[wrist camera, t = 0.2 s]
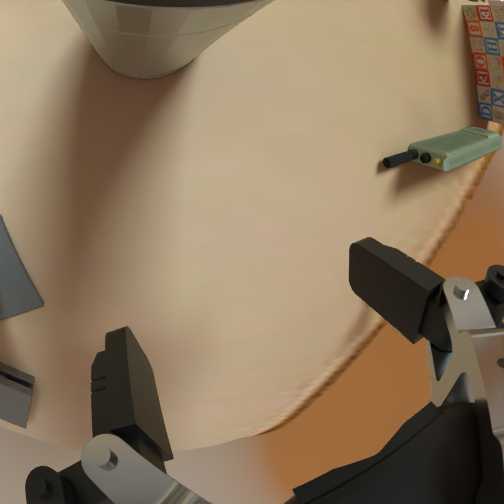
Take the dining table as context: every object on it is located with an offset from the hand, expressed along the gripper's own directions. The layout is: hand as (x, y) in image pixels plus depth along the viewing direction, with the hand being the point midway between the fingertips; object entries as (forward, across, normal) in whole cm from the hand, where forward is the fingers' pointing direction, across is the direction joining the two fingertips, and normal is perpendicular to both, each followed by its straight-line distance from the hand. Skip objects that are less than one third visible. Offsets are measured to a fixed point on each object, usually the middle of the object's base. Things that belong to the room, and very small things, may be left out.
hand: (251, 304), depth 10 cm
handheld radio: (+18, -36, +2) cm, 40 cm away
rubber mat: (+18, +22, +1) cm, 28 cm away
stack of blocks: (+17, -52, -13) cm, 56 cm away
